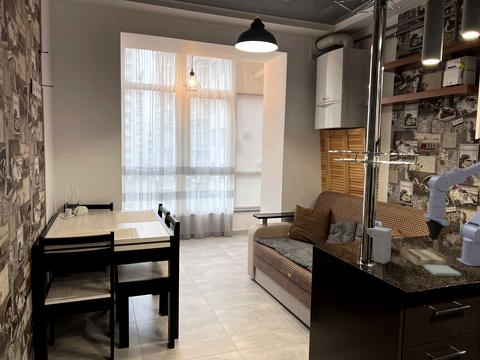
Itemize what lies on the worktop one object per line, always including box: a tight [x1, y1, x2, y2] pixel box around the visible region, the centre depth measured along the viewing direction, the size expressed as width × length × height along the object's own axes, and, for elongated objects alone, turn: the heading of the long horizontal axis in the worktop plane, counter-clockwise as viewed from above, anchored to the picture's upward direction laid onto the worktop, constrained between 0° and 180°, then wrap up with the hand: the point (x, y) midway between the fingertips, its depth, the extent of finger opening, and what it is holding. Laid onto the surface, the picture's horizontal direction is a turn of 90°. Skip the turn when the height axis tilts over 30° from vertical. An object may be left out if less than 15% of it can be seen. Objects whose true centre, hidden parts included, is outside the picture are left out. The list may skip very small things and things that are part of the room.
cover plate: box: [420, 263, 462, 277], centre depth 135 cm, size 9×10×2 cm
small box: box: [366, 226, 393, 265], centre depth 144 cm, size 8×6×13 cm
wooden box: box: [399, 246, 451, 267], centre depth 147 cm, size 13×14×4 cm
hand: (433, 239), depth 145 cm, fingers closed
